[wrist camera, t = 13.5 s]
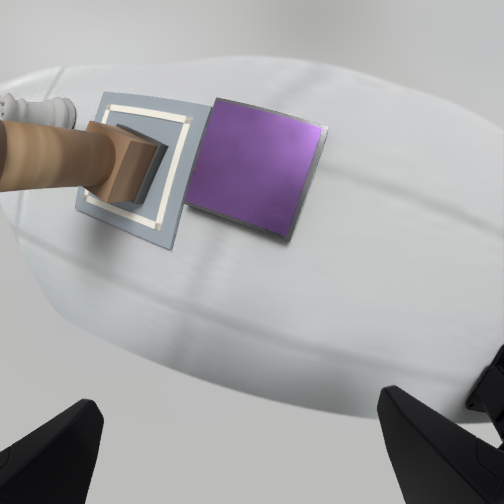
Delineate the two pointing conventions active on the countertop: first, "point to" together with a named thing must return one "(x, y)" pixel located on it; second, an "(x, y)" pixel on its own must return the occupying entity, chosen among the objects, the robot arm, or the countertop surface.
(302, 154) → the ink pad
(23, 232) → the countertop surface
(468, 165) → the countertop surface
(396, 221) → the countertop surface
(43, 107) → the rook chess piece
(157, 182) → the marked card
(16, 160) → the wooden ball finial
